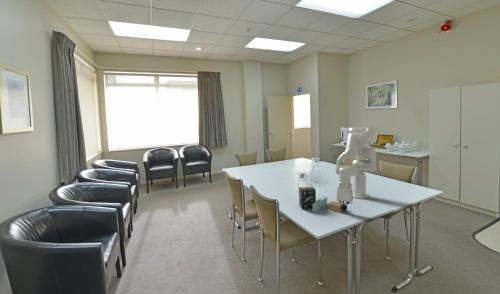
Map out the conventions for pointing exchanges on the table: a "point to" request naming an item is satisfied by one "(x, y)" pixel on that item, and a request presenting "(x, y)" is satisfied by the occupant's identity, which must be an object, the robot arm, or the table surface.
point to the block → (335, 206)
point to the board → (319, 204)
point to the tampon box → (307, 197)
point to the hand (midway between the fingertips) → (344, 210)
